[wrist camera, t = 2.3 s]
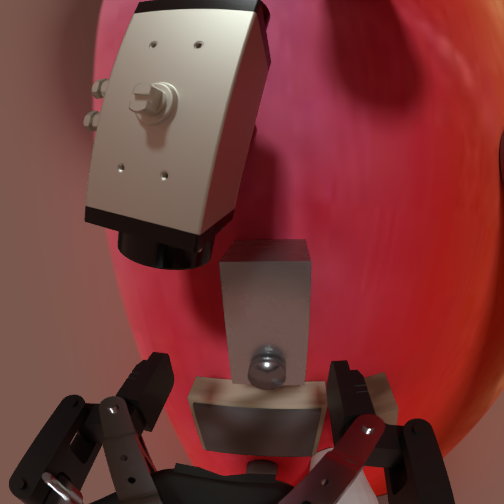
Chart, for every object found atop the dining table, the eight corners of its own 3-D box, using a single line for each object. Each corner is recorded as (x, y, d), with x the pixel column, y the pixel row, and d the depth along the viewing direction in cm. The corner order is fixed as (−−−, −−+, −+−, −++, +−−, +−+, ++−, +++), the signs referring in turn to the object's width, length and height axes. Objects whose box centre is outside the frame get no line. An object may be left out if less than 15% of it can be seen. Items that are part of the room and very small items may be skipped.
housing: (234, 239, 20) (214, 268, 14) (304, 238, 19) (313, 267, 14) (242, 344, 22) (229, 393, 17) (302, 344, 22) (304, 395, 16)
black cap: (278, 459, 28) (277, 467, 26) (276, 471, 29) (276, 479, 27) (247, 457, 28) (245, 466, 27) (248, 469, 29) (246, 478, 28)
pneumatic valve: (279, 69, 16) (267, -44, 4) (240, 227, 19) (178, 308, 8) (203, 59, 16) (121, -32, 5) (168, 209, 20) (50, 260, 8)
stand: (324, 381, 23) (328, 407, 19) (314, 434, 25) (315, 458, 22) (196, 376, 24) (186, 400, 21) (209, 429, 27) (202, 451, 23)
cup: (297, 438, 26) (292, 540, 13) (383, 431, 24) (403, 524, 11) (290, 474, 29) (284, 553, 16) (361, 469, 27) (370, 544, 14)
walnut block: (384, 371, 22) (398, 408, 17) (384, 403, 23) (395, 438, 18) (333, 385, 23) (339, 424, 18) (338, 415, 24) (343, 452, 19)
